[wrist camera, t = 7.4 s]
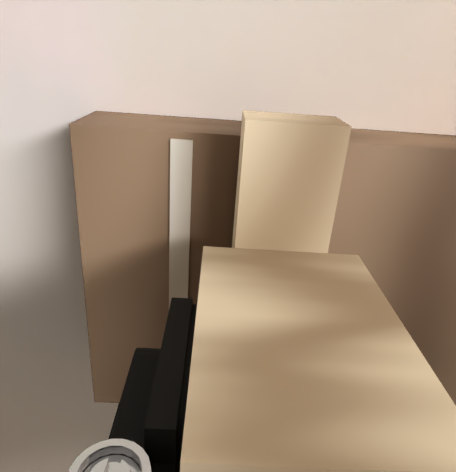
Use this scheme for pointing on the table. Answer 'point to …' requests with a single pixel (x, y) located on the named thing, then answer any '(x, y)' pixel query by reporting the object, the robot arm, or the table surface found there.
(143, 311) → the walnut board
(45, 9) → the table surface
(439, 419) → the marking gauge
